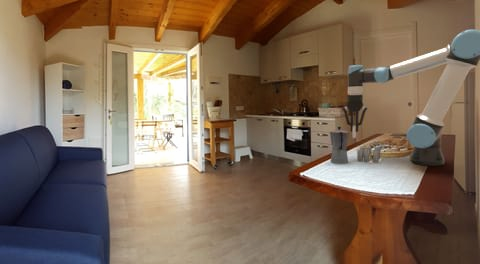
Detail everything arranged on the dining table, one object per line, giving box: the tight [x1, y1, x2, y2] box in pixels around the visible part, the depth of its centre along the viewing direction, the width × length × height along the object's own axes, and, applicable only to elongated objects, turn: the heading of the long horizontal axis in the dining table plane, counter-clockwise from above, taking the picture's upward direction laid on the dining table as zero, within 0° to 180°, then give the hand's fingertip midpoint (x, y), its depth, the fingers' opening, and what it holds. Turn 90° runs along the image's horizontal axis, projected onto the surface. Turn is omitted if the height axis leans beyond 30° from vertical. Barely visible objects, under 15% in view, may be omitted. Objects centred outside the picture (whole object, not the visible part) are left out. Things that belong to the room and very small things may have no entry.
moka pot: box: [329, 126, 349, 165], centre depth 156 cm, size 10×15×20 cm, turn 174°
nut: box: [363, 152, 373, 161], centre depth 159 cm, size 5×5×3 cm
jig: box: [356, 145, 382, 164], centre depth 159 cm, size 11×12×7 cm
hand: (354, 137), depth 161 cm, fingers closed
